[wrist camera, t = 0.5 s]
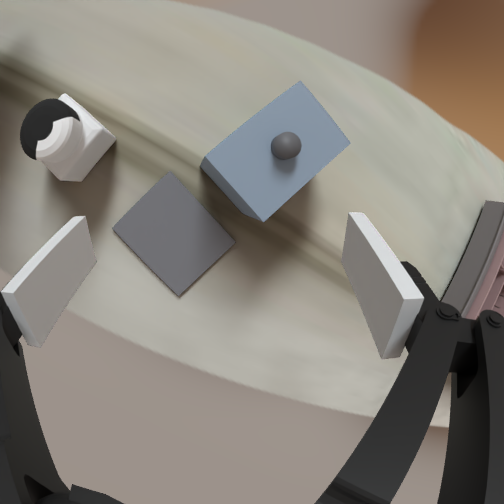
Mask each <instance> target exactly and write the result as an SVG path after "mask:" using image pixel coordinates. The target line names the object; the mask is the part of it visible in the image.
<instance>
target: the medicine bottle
mask: <svg viewBox="0 0 504 504" xmlns="http://www.w3.org/2000/svg"><path fill="white" fill-rule="evenodd" d="M20 141H21V145H22V148H23V150H24V152H25V153H26V154H27V155H28V156H29V157H30V158H32V159H35V160H40V161H41V162H42V163H43V164H44V165H45V166H46V167H47V168H48V169H49V170H50V171H51V172H52V173H53V174H54V175H55V176H56V177H57V178H58V179H59V180H60V181H74V182H81V181H83V179H84V178H85V177H86V175H87V174H88V173H89V172H90V170H91V169H92V168H93V167H94V166H95V164H96V163H97V162H98V161H99V159H100V158H101V157H102V156H103V155H104V153H105V152H106V151H107V150H108V149H109V148H110V147H111V145H112V144H113V143H114V142H115V141H116V137H115V136H114V135H113V134H111V133H110V132H109V131H108V130H107V129H106V128H105V127H104V126H103V125H102V124H101V123H99V122H98V121H97V120H96V119H95V118H94V117H93V116H92V115H91V114H90V113H89V112H88V111H86V110H85V109H84V108H83V107H82V106H81V105H79V104H78V103H77V102H76V101H74V100H73V99H72V98H71V97H69V96H68V95H67V94H62V95H61V97H60V98H59V99H46V100H43V101H41V102H39V103H38V104H36V105H35V106H34V107H33V108H32V109H31V110H30V111H29V112H28V114H27V115H26V117H25V119H24V121H23V124H22V127H21V132H20Z"/></svg>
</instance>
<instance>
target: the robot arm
mask: <svg viewBox="0 0 504 504" xmlns="http://www.w3.org/2000/svg"><path fill="white" fill-rule="evenodd" d="M96 262H97V260H96V256H95V253H94V249H93V245H92V241H91V237H90V233H89V229H88V225H87V220H86V216H75V217H73V218H72V219H71V220H70V221H69V222H67V223H66V224H65V225H64V226H63V227H62V228H61V229H60V230H59V231H58V232H57V233H56V234H55V235H54V236H53V237H52V238H51V239H50V240H49V241H48V242H47V243H46V244H45V245H44V246H43V247H42V248H41V249H40V250H39V251H38V252H37V253H36V254H35V255H34V256H33V257H32V258H31V259H30V260H29V261H28V262H27V263H26V264H25V265H24V266H23V267H22V268H21V269H20V270H19V271H18V272H17V273H16V275H15V276H14V277H13V278H12V279H11V281H9V282H8V283H7V285H6V286H5V287H4V288H3V289H2V291H1V292H0V504H123V503H121V502H119V501H117V500H116V499H114V498H112V497H110V496H108V495H106V494H103V493H99V492H96V491H92V490H89V489H86V488H82V487H79V486H76V485H73V484H72V487H71V491H70V490H69V489H68V488H67V487H66V485H65V484H64V483H63V482H62V481H61V479H60V477H59V475H58V473H57V470H56V468H55V465H54V463H53V460H52V458H51V455H50V452H49V449H48V447H47V444H46V441H45V438H44V435H43V432H42V429H41V426H40V422H39V419H38V415H37V412H36V408H35V405H34V401H33V397H32V393H31V389H30V385H29V380H28V376H27V371H26V366H25V360H24V355H23V349H22V346H21V343H20V342H19V338H20V337H21V336H22V335H23V337H24V338H25V340H26V342H27V344H28V345H30V346H35V347H41V346H42V345H43V343H44V341H45V340H46V338H47V336H48V334H49V333H50V331H51V330H52V328H53V326H54V325H55V323H56V322H57V320H58V318H59V317H60V315H61V313H62V312H63V311H64V309H65V307H66V306H67V304H68V303H69V301H70V300H71V298H72V297H73V295H74V294H75V292H76V291H77V289H78V288H79V286H80V285H81V284H82V282H83V281H84V279H85V278H86V276H87V275H88V273H89V272H90V271H91V269H92V268H93V266H94V265H95V264H96ZM341 262H342V265H343V267H344V269H345V271H346V274H347V276H348V278H349V280H350V283H351V285H352V287H353V290H354V292H355V294H356V297H357V299H358V302H359V304H360V306H361V309H362V311H363V314H364V316H365V319H366V321H367V323H368V326H369V328H370V331H371V334H372V336H373V339H374V341H375V344H376V346H377V349H378V352H379V354H380V357H381V359H389V358H397V357H400V356H401V353H402V351H403V349H404V347H406V349H407V351H408V353H409V354H408V357H407V359H406V361H405V363H404V365H403V367H402V369H401V371H400V373H399V375H398V377H397V379H396V381H395V383H394V385H393V386H392V388H391V390H390V392H389V394H388V396H387V397H386V399H385V401H384V403H383V405H382V406H381V408H380V410H379V412H378V413H377V415H376V417H375V418H374V420H373V422H372V423H371V425H370V427H369V428H368V430H367V431H366V433H365V435H364V436H363V438H362V439H361V441H360V442H359V444H358V445H357V447H356V449H355V450H354V452H353V453H352V455H351V456H350V457H349V459H348V460H347V462H346V463H345V465H344V466H343V467H342V469H341V470H340V472H339V473H338V474H337V476H336V477H335V478H334V480H333V481H332V482H331V484H330V485H329V486H328V488H327V489H326V490H325V491H324V493H323V494H322V495H321V496H320V498H319V499H318V500H317V501H316V503H315V504H390V503H391V501H392V499H393V497H394V496H395V494H396V492H397V490H398V489H399V487H400V485H401V483H402V482H403V480H404V478H405V476H406V474H407V472H408V470H409V468H410V466H411V464H412V462H413V460H414V458H415V456H416V454H417V452H418V450H419V448H420V445H421V443H422V441H423V439H424V436H425V434H426V432H427V429H428V427H429V425H430V422H431V420H432V417H433V415H434V412H435V410H436V407H437V404H438V401H439V399H440V396H441V393H442V390H443V387H444V384H445V381H446V378H447V375H448V372H452V383H451V408H450V422H449V433H448V443H447V451H446V459H445V466H444V472H443V477H442V483H441V489H440V493H439V498H438V502H437V504H504V317H503V316H502V315H501V314H500V313H498V312H496V311H493V310H487V309H486V310H483V311H482V312H481V313H480V315H479V317H478V319H477V320H474V319H467V318H462V316H461V314H460V312H459V311H458V310H457V309H456V308H455V307H453V306H452V305H450V304H447V303H444V302H440V301H439V300H438V298H437V297H436V296H435V294H434V293H433V291H432V290H431V288H430V287H429V285H428V284H427V283H426V281H425V280H424V278H423V277H421V274H420V273H419V272H418V270H417V269H416V268H415V267H414V266H412V265H411V264H410V263H408V262H407V261H406V262H400V261H399V260H398V259H397V257H396V256H395V254H394V253H393V252H392V250H391V249H390V247H389V246H388V245H387V243H386V242H385V241H384V239H383V238H382V236H381V235H380V234H379V232H378V231H377V230H376V229H375V227H374V226H373V225H372V223H371V222H370V221H369V219H368V218H367V217H366V215H365V214H364V213H358V212H349V213H348V220H347V227H346V234H345V241H344V247H343V254H342V260H341Z"/></svg>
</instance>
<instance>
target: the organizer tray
mask: <svg viewBox="0 0 504 504" xmlns="http://www.w3.org/2000/svg"><path fill="white" fill-rule="evenodd" d="M441 302H444V303H447V304H450V305H452V306H453V307H455V308H456V309H457V310H458V311H459V312H460V314H461V316H462V318H467V319H474V320H477V319H478V317H479V315H480V313H481V312H482V311H483V310H486V309H487V310H493V311H496V312H498V313H500V314H501V315H502V316H503V317H504V203H503V202H494V201H486V202H485V204H484V207H483V210H482V213H481V215H480V218H479V221H478V223H477V226H476V228H475V231H474V233H473V236H472V238H471V241H470V243H469V245H468V248H467V250H466V252H465V254H464V257H463V259H462V261H461V263H460V265H459V267H458V270H457V272H456V274H455V276H454V278H453V280H452V282H451V284H450V286H449V288H448V290H447V292H446V294H445V296H444V297H443V299H442V301H441Z"/></svg>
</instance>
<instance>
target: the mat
mask: <svg viewBox="0 0 504 504" xmlns="http://www.w3.org/2000/svg"><path fill="white" fill-rule="evenodd" d="M112 229H113V230H114V231H115V232H116V233H117V234H118V235H119V236H120V237H121V238H122V239H123V241H124V242H125V243H126V244H127V245H128V246H129V247H130V248H131V249H132V250H133V251H134V252H135V253H136V254H137V255H138V256H139V257H140V258H141V259H142V260H143V261H144V262H145V263H146V264H147V265H148V266H149V268H150V269H151V270H152V271H153V272H154V273H155V274H156V275H157V276H158V277H159V278H160V279H161V280H162V281H164V282H165V283H166V284H167V285H168V286H169V287H170V288H171V289H172V290H173V291H174V292H175V293H176V294H177V295H178V296H179V295H180V294H181V293H182V292H183V291H184V290H185V289H186V288H188V287H189V286H190V285H191V284H192V283H193V282H194V281H195V280H196V279H197V278H198V277H199V276H200V275H201V274H202V273H203V272H205V271H206V270H207V269H208V268H209V267H210V266H211V265H212V264H213V263H214V262H215V261H216V260H217V259H218V258H220V257H221V256H222V255H223V254H224V253H225V252H226V251H227V250H228V249H229V248H230V247H231V246H232V245H233V244H235V243H236V242H235V241H234V240H233V239H232V237H231V236H230V235H229V234H228V233H227V232H226V231H225V230H224V229H223V228H222V227H221V226H220V224H219V223H218V222H217V221H216V220H215V219H214V218H213V217H212V216H211V215H210V214H209V213H208V211H207V210H206V209H205V208H204V207H203V206H202V205H201V204H200V203H199V202H198V201H197V199H196V198H195V197H194V196H193V195H192V194H191V193H190V192H189V191H188V190H187V189H186V187H185V186H184V185H183V184H182V183H181V182H180V181H179V180H178V179H177V178H176V177H175V175H174V174H173V173H172V172H171V171H169V172H168V173H167V174H166V175H165V176H164V177H163V178H162V179H161V180H160V181H159V182H157V183H156V184H155V185H154V186H153V187H152V188H151V189H150V190H149V191H148V192H147V193H146V194H145V195H144V196H143V197H142V198H141V199H140V200H139V201H138V202H137V203H136V204H135V205H134V206H133V207H132V208H131V209H130V210H129V211H128V212H127V213H126V214H125V215H124V216H123V217H122V218H121V219H120V220H119V221H118V222H117V223H116V224H115V225H114V227H113V228H112Z"/></svg>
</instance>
